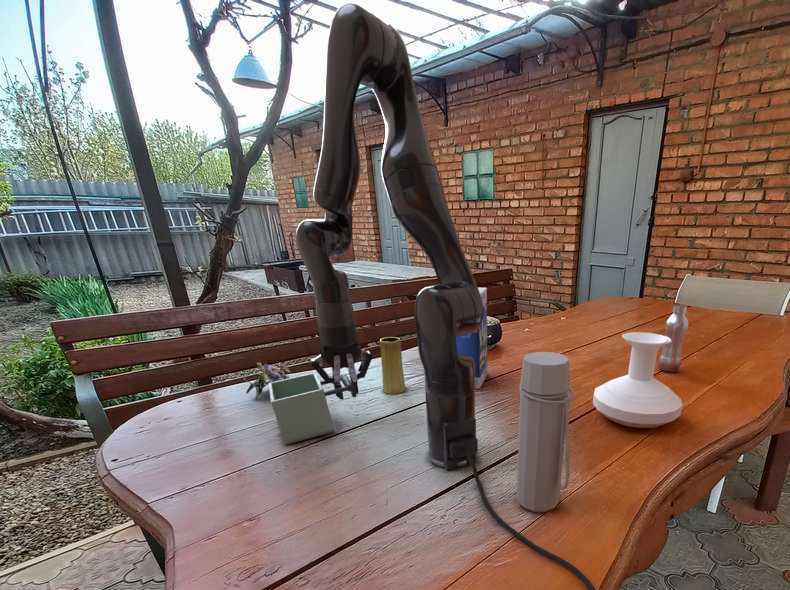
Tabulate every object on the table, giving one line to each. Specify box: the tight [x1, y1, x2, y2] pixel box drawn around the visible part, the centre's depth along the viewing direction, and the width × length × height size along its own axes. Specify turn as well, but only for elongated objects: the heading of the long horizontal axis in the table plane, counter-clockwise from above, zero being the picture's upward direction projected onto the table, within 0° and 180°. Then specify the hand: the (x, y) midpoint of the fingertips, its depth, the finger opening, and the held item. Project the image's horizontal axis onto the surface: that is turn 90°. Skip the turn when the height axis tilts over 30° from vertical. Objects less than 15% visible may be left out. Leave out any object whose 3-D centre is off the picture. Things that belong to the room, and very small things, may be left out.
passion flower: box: [242, 362, 293, 401], centre depth 110 cm, size 11×11×12 cm
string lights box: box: [456, 287, 488, 390], centre depth 119 cm, size 13×8×26 cm, turn 171°
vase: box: [379, 336, 407, 395], centre depth 114 cm, size 6×6×14 cm
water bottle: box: [516, 351, 575, 513], centre depth 65 cm, size 9×8×25 cm
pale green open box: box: [267, 372, 354, 446], centre depth 94 cm, size 12×16×10 cm
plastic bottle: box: [657, 304, 690, 372], centre depth 129 cm, size 6×7×20 cm
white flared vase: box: [592, 331, 683, 429], centre depth 98 cm, size 20×20×19 cm
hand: (347, 396), depth 97 cm, fingers closed
